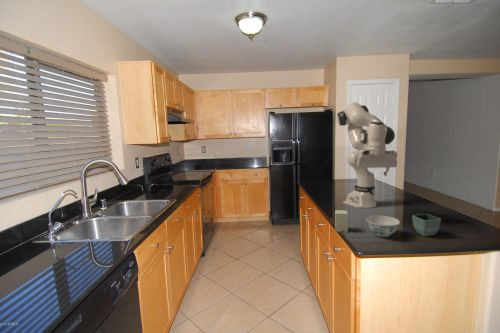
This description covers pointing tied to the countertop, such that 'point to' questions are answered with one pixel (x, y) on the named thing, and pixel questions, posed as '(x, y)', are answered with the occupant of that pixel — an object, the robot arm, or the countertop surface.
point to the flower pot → (426, 224)
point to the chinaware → (383, 225)
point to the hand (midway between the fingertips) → (376, 175)
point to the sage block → (341, 220)
